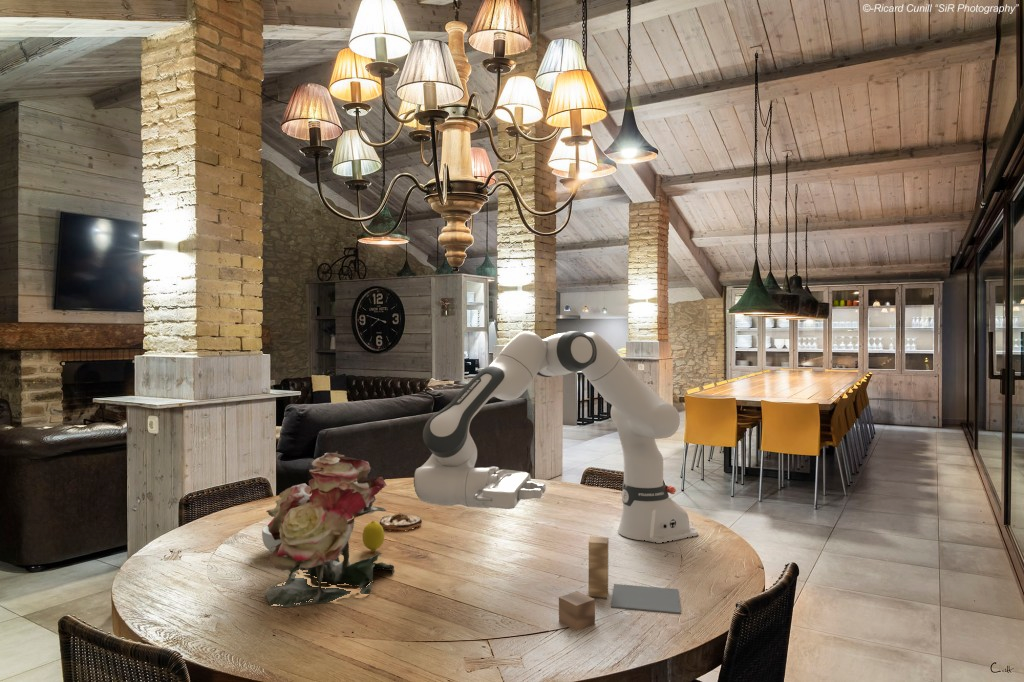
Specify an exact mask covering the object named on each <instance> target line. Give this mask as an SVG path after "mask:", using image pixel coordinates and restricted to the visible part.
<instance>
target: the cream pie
mask: <svg viewBox="0 0 1024 682" xmlns="http://www.w3.org/2000/svg"><path fill="white" fill-rule="evenodd" d="M422 523H423V520H422V519H421V517H420V516H418V515H417V514H415V513H410V512H409V513H402V512H398V513H395V514H391V515H390V514H388V515H386V516H384V515H383V516H382V517H381V518H380V520H379V524H380V525H381V526H382V527H383V528H384V529H387V530H391V531H390V532H398V531H403V532H406V531H405V530H409V529H412V528H415V527H418V526H419V527H421V525H422ZM419 527H418V528H419ZM384 529H383V530H384ZM387 530H386V531H387ZM412 530H413V529H412ZM409 531H410V530H409Z"/></svg>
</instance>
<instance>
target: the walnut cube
mask: <svg viewBox="0 0 1024 682" xmlns="http://www.w3.org/2000/svg"><path fill="white" fill-rule="evenodd" d="M558 623H560V624H561V625H563V626H565V627H567V628H569V629H571V630H573V631H574V632H579V631H582V630H584V629H586V628H588V627H592V626H593V625H595V624H596V598H592V597H589V596H588V594H585V593H583V592H581V591H578V590H577V591H573V592H569V593H568V594H564V595H562V596H558Z"/></svg>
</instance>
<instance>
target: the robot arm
mask: <svg viewBox="0 0 1024 682" xmlns="http://www.w3.org/2000/svg"><path fill="white" fill-rule="evenodd" d="M577 372H581V373H582V374H583V375H584V376H585V378H586V379H587V380H588V381H589V383H590V384H591V385H592V386H593V388H594V389H595V390H596V391H597V393H598V394H599V395H600V396H601V397H602V398H603V400H604V401H605V402H607V403H609V404H610V405H611V407H610V418H611V421H612V423H613V425H614V426H615V427H616V429H617V430H616V431H617V433H618V437H619V441H620V445H621V450H622V455H623V456H622V458H623V482H622V487H621V488H622V489H621V491H622V493H621V497H622V509H621V510H622V511H621V517H620V523H619V527H618V530H617V532H618V534H619V535H621V536H623V537H624V538H628V539H631V540H632V539H633V540H638V541H644V540H645V542H652V543H655V542H656V543H657V544H663V543H662V542H664V543H668V542H667V541H669V542H673V541H678V540H682V539H683V540H684V539H687V537H688V538H692V536H693V537H696V536H699V533H698V532H699V531H698V530H697V528H695V527H694V526H692V525H691V524H690V519H689V515H688V513H687V511H686V509H684V508H683V507H682V506H681V505H680V504H678V503H677V502H676V501H675V500H673V499H672V498H671V497H670V495H669V494H671V495H674V494H676V492H677V490H676V487H674V486H672V485H667V484H665V483H664V457H663V454H662V453H661V451H660V449H659V448H658V446H657V443H656V440H657V439H659V440H660V439H667V438H671V437H672V436H674V435H675V434H676V433H677V431H678V429H679V427H680V423H681V422H680V421H681V418H680V416H681V415H680V412H679V411H678V409H677V408H676V407H675V406H674V405H672V404H671V403H670V402H668V401H666V400H665V399H664V398H662V397H661V396H660V395H659V394H657V393H656V392H655V391H654V390H653V388H651V387H650V386H649V385H647V384H646V383H645V382H644V381H643V380H641V378H640V377H638V375H636V374H635V372H634V371H633V370H632V369H631V368H630V367H629V365H628V364H627V363H626V362H625V361H624V360H623V358H622V357H621V355H620V354H619V353H618V352H617V351H616V350H615V349H614V348H613V347H612V345H611V344H610V343H609V342H608V341H606V339H604V338H603V337H602V336H601V335H599V334H598V333H597V332H593V331H589V332H585V333H584V332H582V331H577V330H573V331H572V330H570V331H566V332H560V333H556V334H552V335H550V336H547V337H546V338H545V337H544V338H542V337H541V336H539V334H536V333H534V332H533V331H532V332H531V331H522V332H519V333H518V334H516V335H515V336H514V337H513V338H512V339H511V340H510V341H509V342H508V343H507V344H506V345H505V346H504V347H503V348H502V349H501V351H500V352H499V353H498V355H496V357H495V359H494V360H493V361H492V362H491V363H490V364H489V365H487V366H486V367H484V368H482V369H481V370H480V371H478V373H477V374H475V376H474V377H472V379H471V380H470V381H469V382H468V383H467V384H466V385H465V386H464V387H463V388H462V389H461V391H460V392H459V393H458V394H457V395H456V396H455V397H454V398H453V399H452V400H451V401H450V403H448V404H447V405H446V406H444V408H442V409H440V410H439V411H437V412H436V413H434V414H433V415H432V416H431V417H430V418H429V419H428V420H427V421H426V423H425V425H424V427H423V431H422V440H423V443H424V444H425V446H426V448H428V449H429V450H430V452H431V455H430V456H429V458H428V459H427V460H426V462H424V463H423V464H422V465H421V466H420V467H418V468H416V469H415V471H414V474H413V488H414V492H415V494H416V496H417V498H418V499H419V500H420V501H421V502H423V503H427V504H429V505H430V504H432V505H438V506H448V507H454V506H457V505H459V506H460V505H461V506H463V507H467V508H477V509H478V508H479V509H490V508H493V509H502V510H512V509H515V508H516V506H517V505H518V504H519V503H520V501H521V500H523V501H524V500H531V499H539V500H540V499H541V498H542V497H543V494H545V492H546V491H547V489H546V488H547V487H546V486H547V485H546V484H545V483H537V482H534V481H531V474H530V473H529V472H526V471H520V470H519V471H518V470H511V469H500V467H498V466H488V467H475V466H476V463H477V461H478V448H477V445H476V443H475V441H474V438H473V437H472V436H471V433H470V425H471V422H472V420H473V419H474V417H475V416H476V415H477V414H478V413H479V412H480V411H481V410H482V408H483V407H484V406H485V405H486V403H488V401H489V400H490V399H492V398H493V397H494V398H497V399H499V400H501V401H507V402H508V401H514V400H518V399H519V398H520V397H521V396H522V395H523V394H524V393H525V392H526V391H527V389H528V388H529V387H530V385H531V384H532V383H533V381H534V379H535V378H536V376H540V377H545V378H552V377H560V376H561V377H562V376H565V375H568V374H569V375H570V374H573V373H577ZM672 540H673V541H672Z"/></svg>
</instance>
